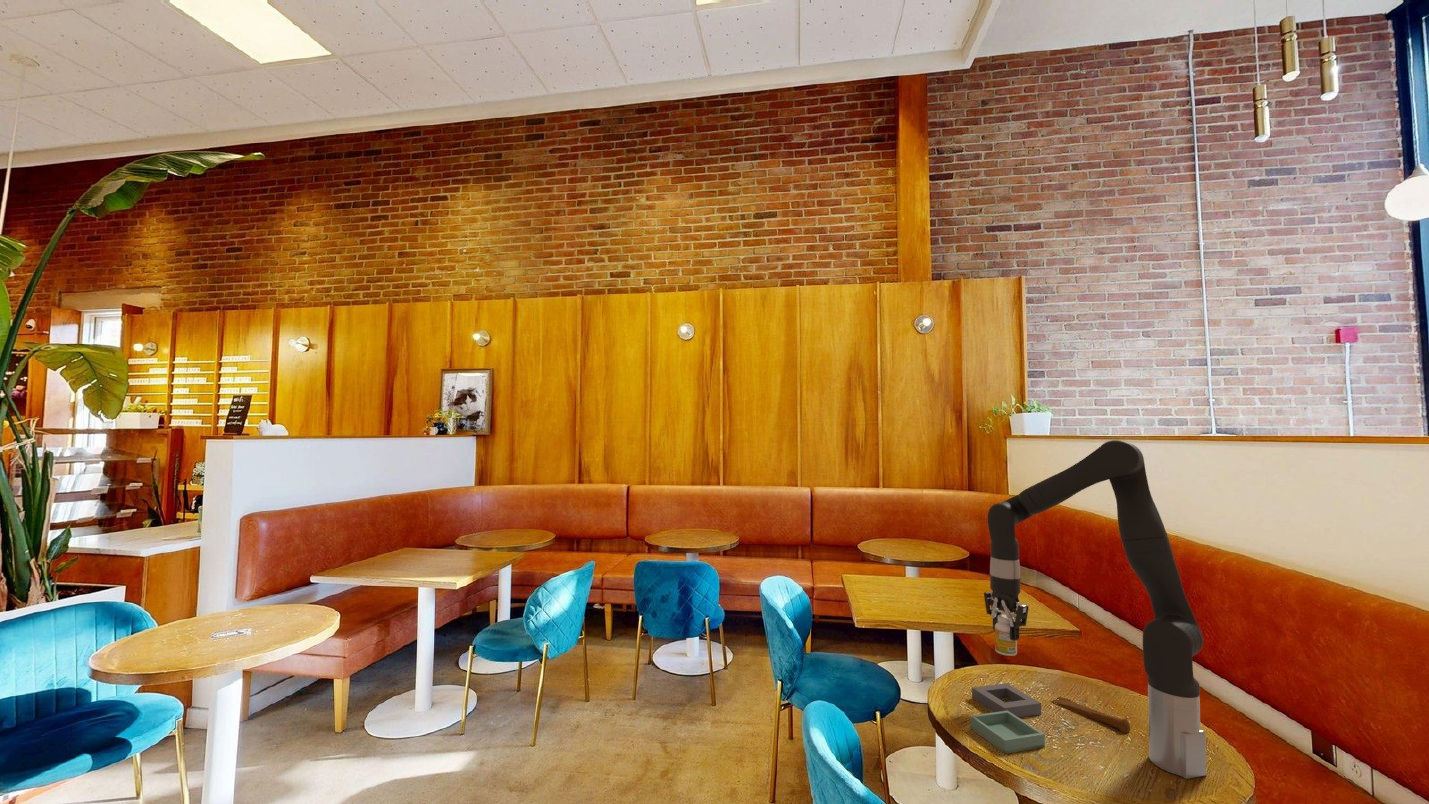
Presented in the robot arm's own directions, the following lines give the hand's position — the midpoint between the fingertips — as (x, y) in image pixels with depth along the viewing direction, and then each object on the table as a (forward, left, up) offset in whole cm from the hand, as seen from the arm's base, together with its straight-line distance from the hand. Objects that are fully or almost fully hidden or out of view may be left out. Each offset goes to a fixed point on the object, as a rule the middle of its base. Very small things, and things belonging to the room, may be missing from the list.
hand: (1005, 635), depth 154 cm
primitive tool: (-9, -18, -20) cm, 28 cm away
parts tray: (-13, +12, -19) cm, 26 cm away
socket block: (0, 0, -19) cm, 19 cm away
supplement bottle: (0, 0, -5) cm, 5 cm away
